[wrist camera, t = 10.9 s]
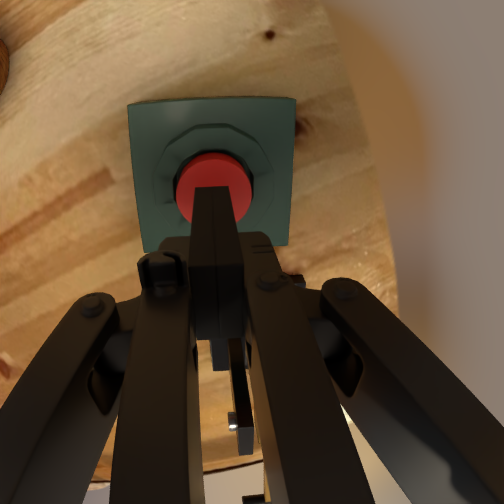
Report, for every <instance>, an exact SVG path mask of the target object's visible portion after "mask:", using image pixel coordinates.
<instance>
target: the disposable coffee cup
mask: <svg viewBox="0 0 504 504" xmlns="http://www.w3.org/2000/svg"><path fill="white" fill-rule="evenodd" d="M8 71H9V56H8V51H7V48H6V46H5V44H4V43H3V42H2V40H1V39H0V95H1V93H2V91H3V88H4V86H5V83H6V80H7V76H8Z"/></svg>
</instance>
